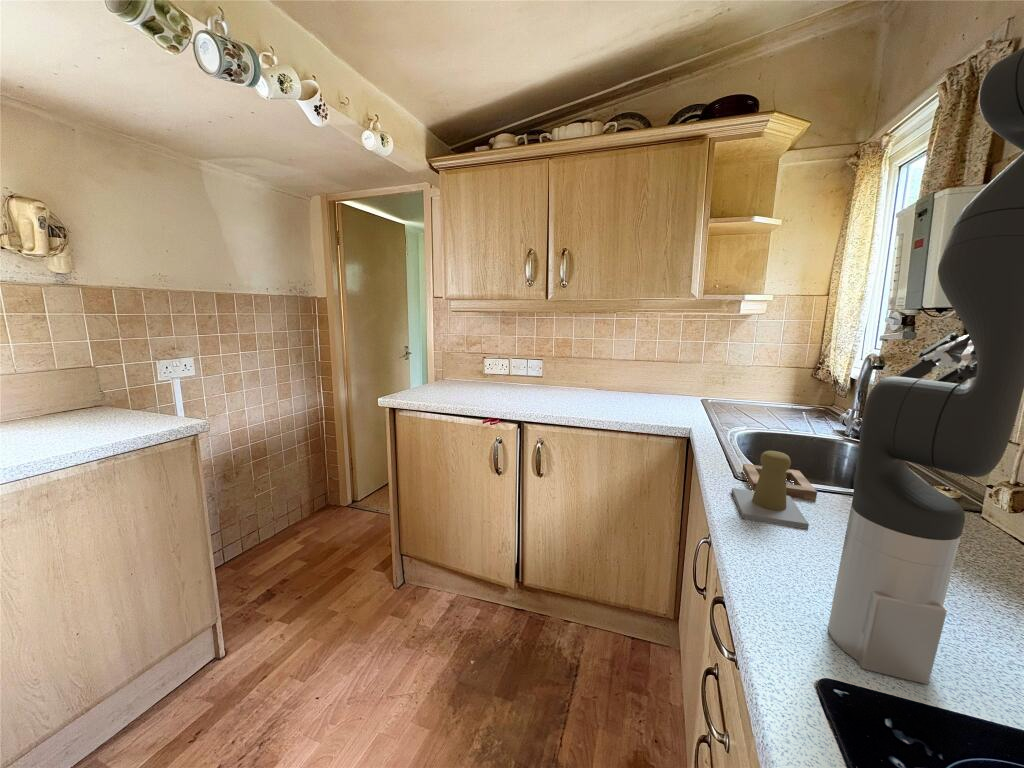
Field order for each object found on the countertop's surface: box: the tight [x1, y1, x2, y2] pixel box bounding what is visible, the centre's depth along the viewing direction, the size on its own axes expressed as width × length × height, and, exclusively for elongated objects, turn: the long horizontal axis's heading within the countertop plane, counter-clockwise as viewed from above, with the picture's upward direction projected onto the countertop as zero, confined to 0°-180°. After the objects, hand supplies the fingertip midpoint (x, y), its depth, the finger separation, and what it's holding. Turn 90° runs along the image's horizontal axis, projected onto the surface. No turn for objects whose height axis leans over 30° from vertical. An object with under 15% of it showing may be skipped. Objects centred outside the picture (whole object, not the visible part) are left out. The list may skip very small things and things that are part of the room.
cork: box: [752, 450, 792, 511], centre depth 83 cm, size 6×6×11 cm
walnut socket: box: [742, 463, 818, 501], centre depth 96 cm, size 12×12×2 cm
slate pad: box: [731, 487, 810, 530], centre depth 84 cm, size 12×11×1 cm
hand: (918, 384), depth 67 cm, fingers open, 8 cm apart
